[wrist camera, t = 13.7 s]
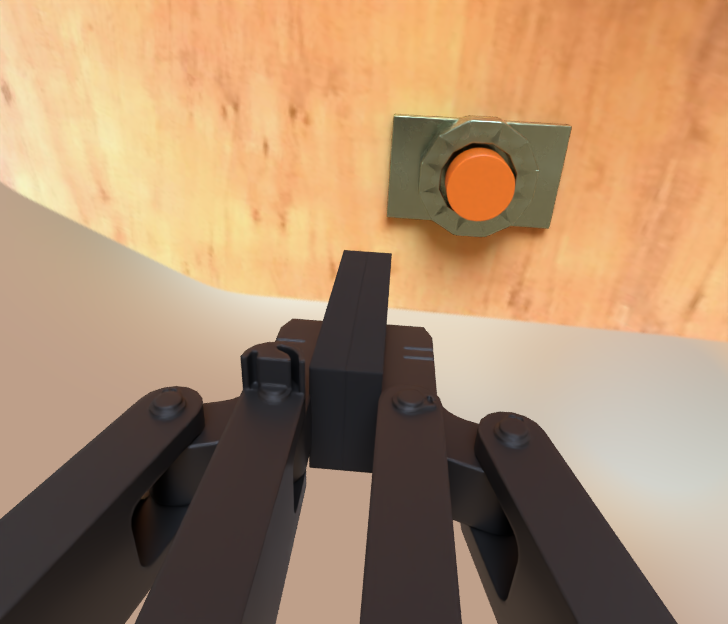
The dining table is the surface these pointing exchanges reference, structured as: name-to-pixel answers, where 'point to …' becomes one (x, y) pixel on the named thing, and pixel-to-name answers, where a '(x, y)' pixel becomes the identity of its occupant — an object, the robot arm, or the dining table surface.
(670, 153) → the dining table surface
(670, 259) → the dining table surface
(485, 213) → the round orange push button
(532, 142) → the switch block
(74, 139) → the dining table surface
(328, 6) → the dining table surface
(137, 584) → the robot arm
